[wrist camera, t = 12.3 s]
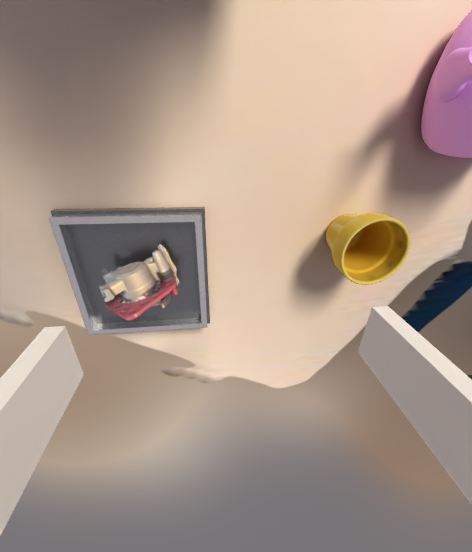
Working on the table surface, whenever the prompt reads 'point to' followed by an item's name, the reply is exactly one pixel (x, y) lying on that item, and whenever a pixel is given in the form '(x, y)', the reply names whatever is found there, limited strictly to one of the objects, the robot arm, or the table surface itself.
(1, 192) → the table surface
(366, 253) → the plant pot
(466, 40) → the teapot
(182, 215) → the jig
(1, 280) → the table surface
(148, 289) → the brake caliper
